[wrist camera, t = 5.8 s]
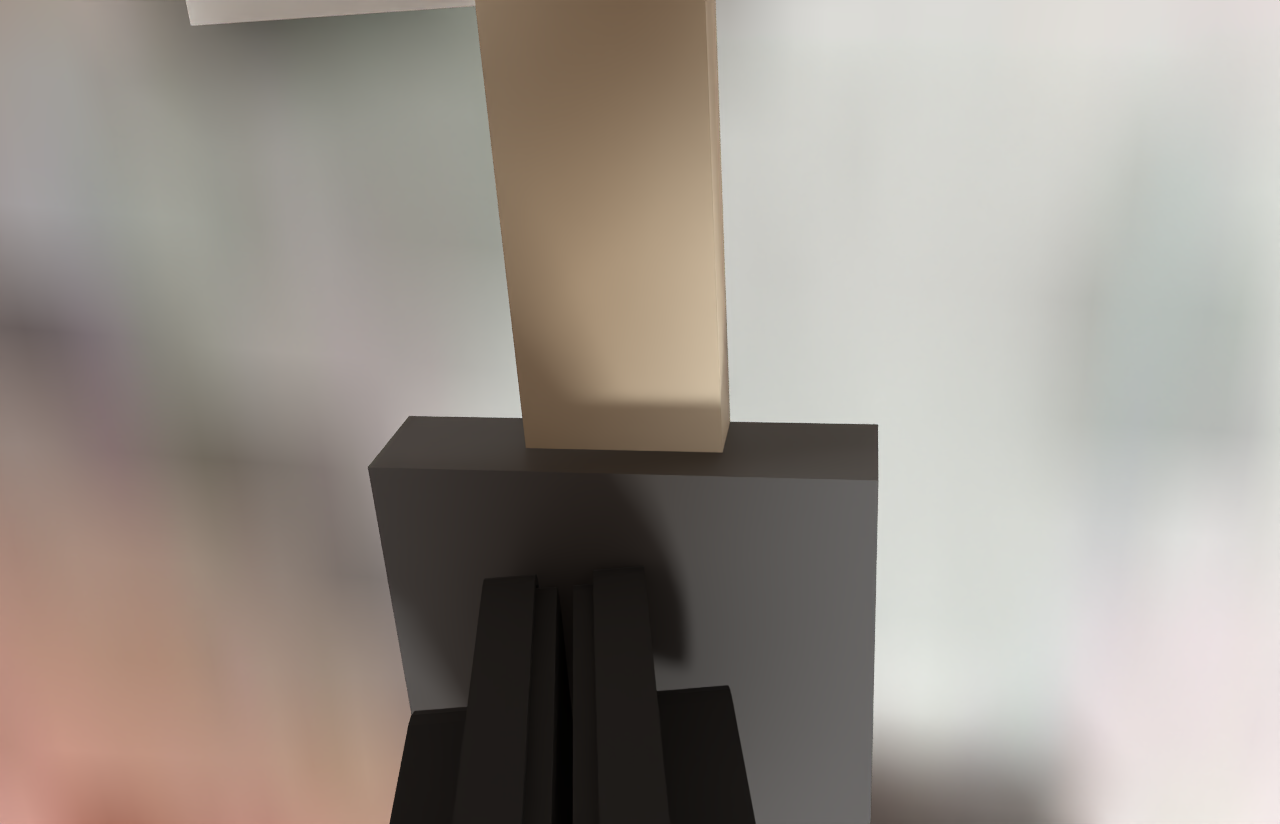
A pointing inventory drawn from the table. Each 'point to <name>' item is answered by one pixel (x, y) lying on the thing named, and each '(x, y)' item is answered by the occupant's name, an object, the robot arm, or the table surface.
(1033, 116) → the table surface
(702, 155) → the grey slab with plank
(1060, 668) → the table surface
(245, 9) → the catapult stand
